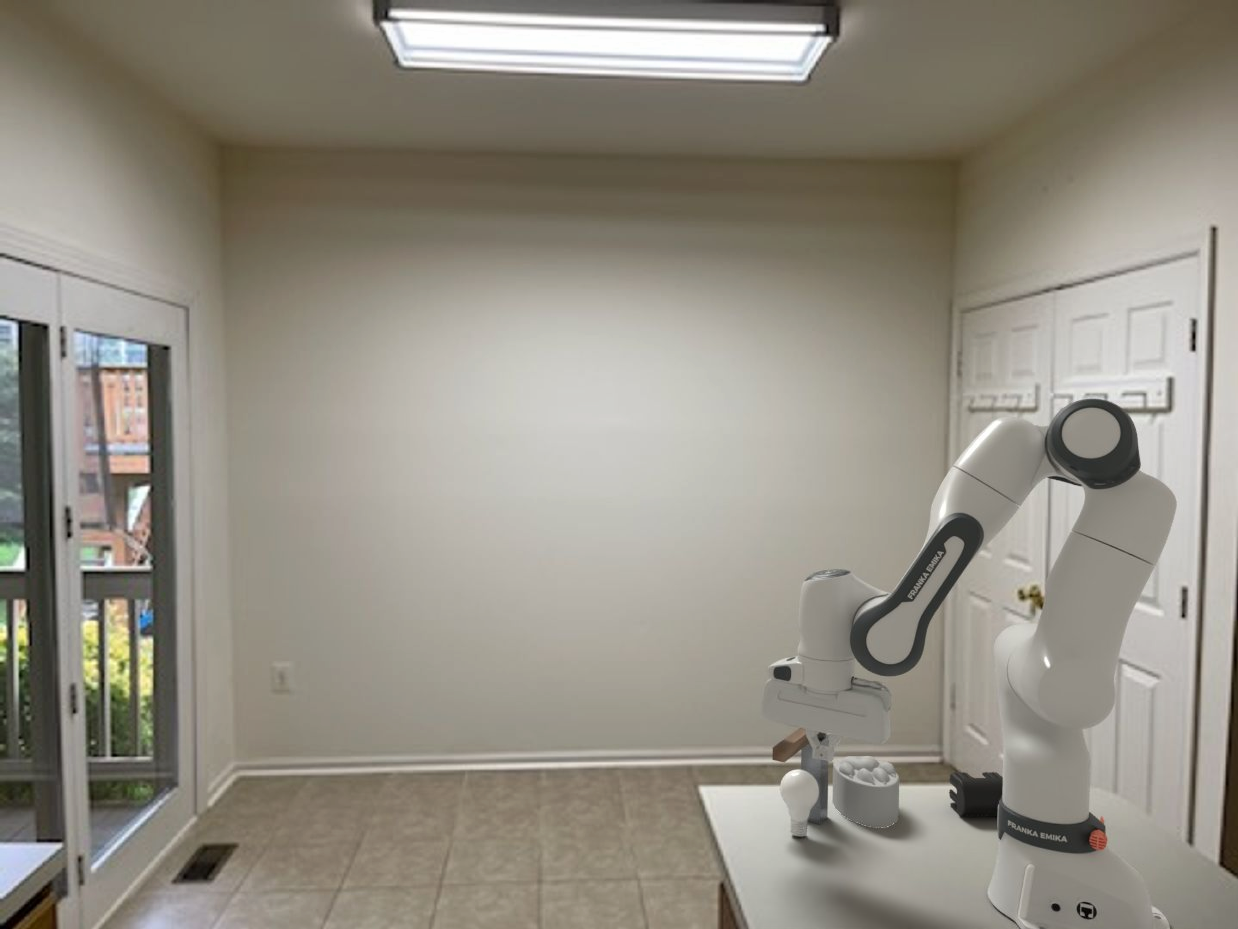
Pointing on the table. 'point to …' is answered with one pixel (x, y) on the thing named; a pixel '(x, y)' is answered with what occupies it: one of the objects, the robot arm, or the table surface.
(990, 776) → the end cap
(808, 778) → the lightbulb
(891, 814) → the lumpy-topped squat cylinder
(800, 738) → the hammer
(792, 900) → the table surface
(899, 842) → the table surface
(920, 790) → the table surface
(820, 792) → the post
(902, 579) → the robot arm
